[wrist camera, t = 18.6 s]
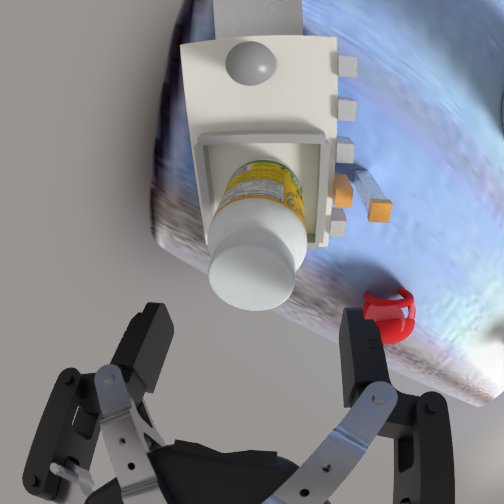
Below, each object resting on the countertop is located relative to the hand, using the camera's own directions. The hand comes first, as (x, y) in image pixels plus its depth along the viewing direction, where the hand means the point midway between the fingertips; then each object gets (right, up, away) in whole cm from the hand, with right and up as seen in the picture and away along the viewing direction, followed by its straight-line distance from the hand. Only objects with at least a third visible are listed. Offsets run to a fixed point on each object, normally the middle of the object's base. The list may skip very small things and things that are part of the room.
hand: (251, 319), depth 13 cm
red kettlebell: (+15, -2, +18) cm, 23 cm away
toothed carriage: (+2, +11, +8) cm, 13 cm away
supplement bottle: (+1, +7, +8) cm, 11 cm away
